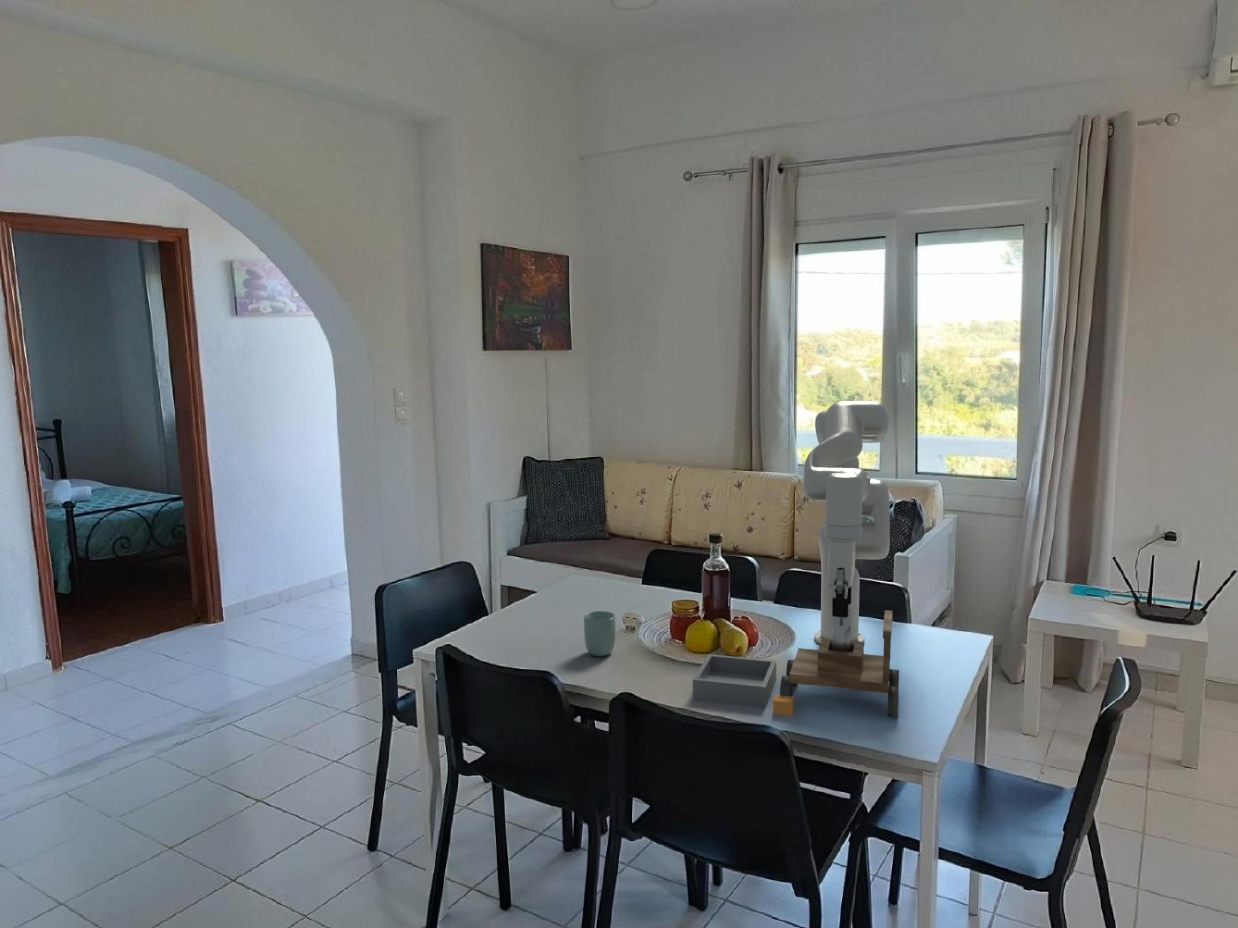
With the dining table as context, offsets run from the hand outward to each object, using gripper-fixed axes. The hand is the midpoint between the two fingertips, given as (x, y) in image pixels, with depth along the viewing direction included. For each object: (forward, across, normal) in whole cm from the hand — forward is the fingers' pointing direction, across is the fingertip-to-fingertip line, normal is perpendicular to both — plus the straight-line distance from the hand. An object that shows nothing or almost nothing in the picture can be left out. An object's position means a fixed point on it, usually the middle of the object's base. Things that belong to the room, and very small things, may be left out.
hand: (841, 610), depth 188 cm
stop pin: (+12, -1, 0) cm, 13 cm away
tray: (+20, -1, -23) cm, 31 cm away
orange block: (+21, +9, -11) cm, 25 cm away
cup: (+20, -14, -60) cm, 65 cm away
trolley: (+20, -1, 0) cm, 21 cm away
